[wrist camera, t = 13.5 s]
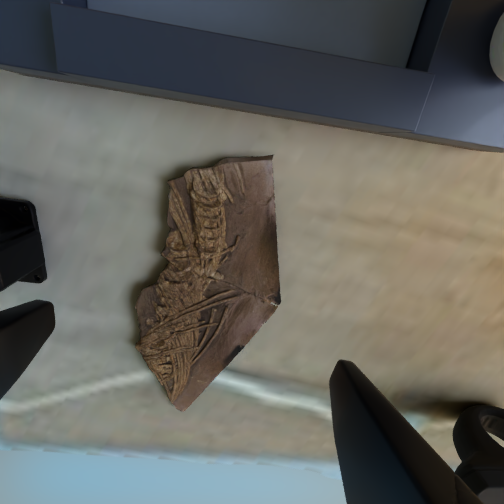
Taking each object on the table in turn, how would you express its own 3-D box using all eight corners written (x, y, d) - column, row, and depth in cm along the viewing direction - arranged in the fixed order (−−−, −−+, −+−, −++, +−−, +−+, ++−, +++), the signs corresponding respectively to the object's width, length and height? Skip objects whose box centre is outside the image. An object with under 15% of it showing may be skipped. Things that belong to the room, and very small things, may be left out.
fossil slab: (185, 121, 17) (181, 120, 16) (337, 183, 19) (342, 186, 18) (115, 391, 27) (110, 400, 26) (220, 415, 29) (220, 425, 28)
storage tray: (27, 75, 16) (-70, 50, 11) (-7, -147, 13) (-171, -329, 8) (481, 151, 19) (568, 157, 14) (558, -20, 15) (714, -96, 10)
